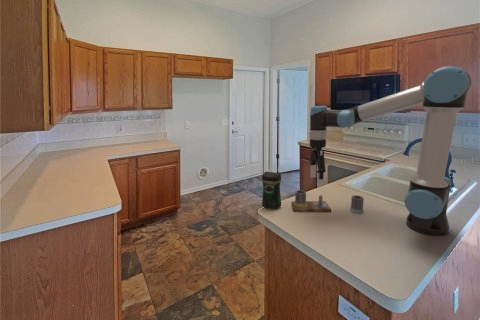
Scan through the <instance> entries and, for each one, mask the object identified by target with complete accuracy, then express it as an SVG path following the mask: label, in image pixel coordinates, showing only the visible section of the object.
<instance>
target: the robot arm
mask: <svg viewBox="0 0 480 320" xmlns="http://www.w3.org/2000/svg"><path fill="white" fill-rule="evenodd" d="M471 78H472V77H471V76H470V74H469V73H468V72H467V71H466V70H465V69H463V68H462V67H460V66H457V65H456V66H454V65H452V66H451V65H447V66H442V67H439V68H437V69H435V70H433V71H432V72H430V73H429V74H428V76H427V77H426V78H425V80H423V81H422V82H421V83H420V85H416V86H413V87H411V88H407V89H405V90H402V91H398V92H396V93H393V94H391V95H390V94H389V95H387V96H384V97H382V98H379V99H375V100H373V101H370V102H366V103H363V104H360V105H357V106H354V107H350V108H347V109H340V110H339V109H337V110H333V109H332V110H330V109H329V110H328V107H327V106H326V105H314V106H313V105H312V106H311V107H310V113H309V114H310V115H309V116H310V119H309V121H310V122H309V123H310V124H309V127H310V128H309V132H308V134H309V138H310V139H309V147H310V148H311V150H310V151H311V153H310V156H309V157H310V158H309V163H310V179H311V178H312V179H313V178H317V179H316V181H317V182H316V185H317V187H319V186H320V187H321V186H323V187H324V183H325V182H324V179H325V178H324V177H325V176H324V175H325V174H324V173H326V162H325V151H324V150H323V149H322V148H326V146H327V127H330V128H342V129H344V128H352V126H353V125H357V124H358V123H361V122H362V123H363V122H365V121H368V120H372V119H376V118H378V117H383V116H386V115H390V114H392V113H396V112H400V111H403V110H406V109H407V110H408V109H410V108H411V109H412V108H415V107H417V106H420V105H422V108H423V110H424V111H425V112H426V114H425V115H426V116H425V120H424V127H423V133H422V139H421V144H420V150H419V155H418V161H417V169H416V174H415V175H414V176H412V177H411V178H410V182H409V187H408V193H407V194H406V195H405V196H404V197H405V198H404V205H405V208H406V209H407V211H408V212H409V213H408V215H407V217H406V221H405V224H406V225H407V227H408V228H410V229H411V230H413V231H416V232H417V233H421V234H424V235H429V236H436V237H437V236H438V237H439V236H445V235H448V234H449V231H450V223H449V221H448V220H449V219H448V216H447V211H448V204H449V199H450V192H451V187H452V179H450V178H449V177H447V176H446V171H447V165H448V160H449V155H450V152H451V146H452V141H453V136H454V129H455V125H456V120H457V116H458V113H459V112H460V111H462V110H463V109H464V108H465V104H466V98H467V94H468V92H469V90H470V88H471V86H472V79H471Z"/></svg>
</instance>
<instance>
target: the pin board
mask: <svg viewBox="0 0 480 320" xmlns="http://www.w3.org/2000/svg"><path fill="white" fill-rule="evenodd" d="M323 199H324V198H323V195H322V194H321V195H319V196H318V201H314V200H313V201H308V200H306V206H305V207H297V206H295V200H294V201H291V207H292V210H293V212H294V213H331V212H332V209H331V207H330V206H329V204H328V202H326V201H325V200H323Z"/></svg>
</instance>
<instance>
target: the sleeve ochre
mask: <svg viewBox="0 0 480 320" xmlns="http://www.w3.org/2000/svg"><path fill="white" fill-rule="evenodd" d="M294 199H295V200H294V201H295V206H297V207H305V206H306V201H307V191H306V190H298V189H297V190H295V198H294Z"/></svg>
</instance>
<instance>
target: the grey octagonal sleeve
mask: <svg viewBox="0 0 480 320" xmlns="http://www.w3.org/2000/svg"><path fill="white" fill-rule="evenodd" d="M349 210H350V211H351V212H352V213H354V214H355V213H356V214H361V213H363V212H364V196H361V195H352V196H351V201H350V207H349Z"/></svg>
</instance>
